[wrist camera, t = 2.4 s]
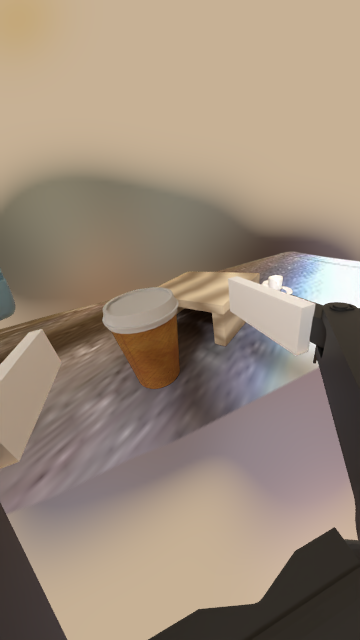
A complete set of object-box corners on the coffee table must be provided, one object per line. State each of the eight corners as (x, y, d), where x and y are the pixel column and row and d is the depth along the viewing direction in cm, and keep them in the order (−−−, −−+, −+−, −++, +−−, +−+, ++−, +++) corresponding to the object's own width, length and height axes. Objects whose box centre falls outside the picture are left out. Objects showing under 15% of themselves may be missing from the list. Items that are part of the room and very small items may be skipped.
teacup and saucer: (260, 286, 54) (261, 271, 52) (293, 286, 50) (295, 271, 48) (253, 298, 47) (254, 282, 45) (291, 300, 43) (292, 283, 41)
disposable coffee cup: (168, 345, 35) (153, 282, 29) (203, 372, 28) (192, 293, 22) (118, 373, 30) (89, 304, 25) (145, 412, 23) (113, 328, 18)
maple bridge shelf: (151, 325, 43) (142, 294, 39) (191, 298, 53) (187, 271, 50) (225, 346, 32) (222, 305, 28) (258, 306, 42) (259, 273, 39)
